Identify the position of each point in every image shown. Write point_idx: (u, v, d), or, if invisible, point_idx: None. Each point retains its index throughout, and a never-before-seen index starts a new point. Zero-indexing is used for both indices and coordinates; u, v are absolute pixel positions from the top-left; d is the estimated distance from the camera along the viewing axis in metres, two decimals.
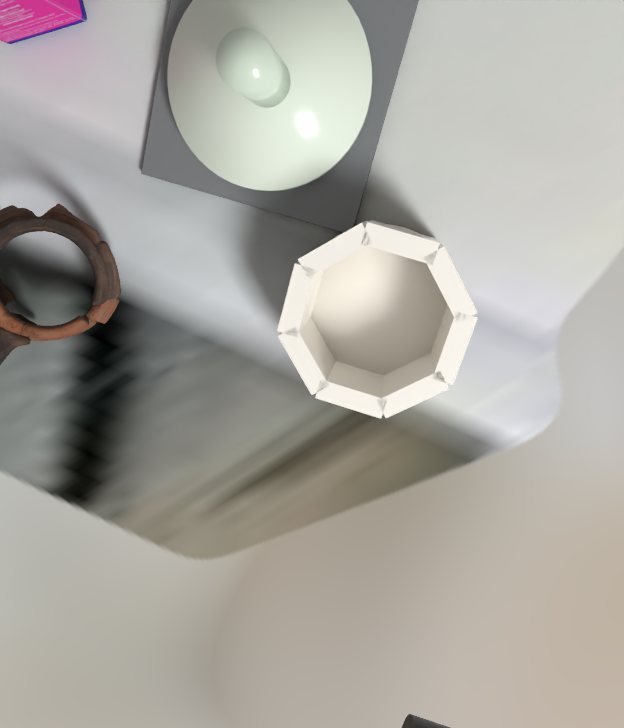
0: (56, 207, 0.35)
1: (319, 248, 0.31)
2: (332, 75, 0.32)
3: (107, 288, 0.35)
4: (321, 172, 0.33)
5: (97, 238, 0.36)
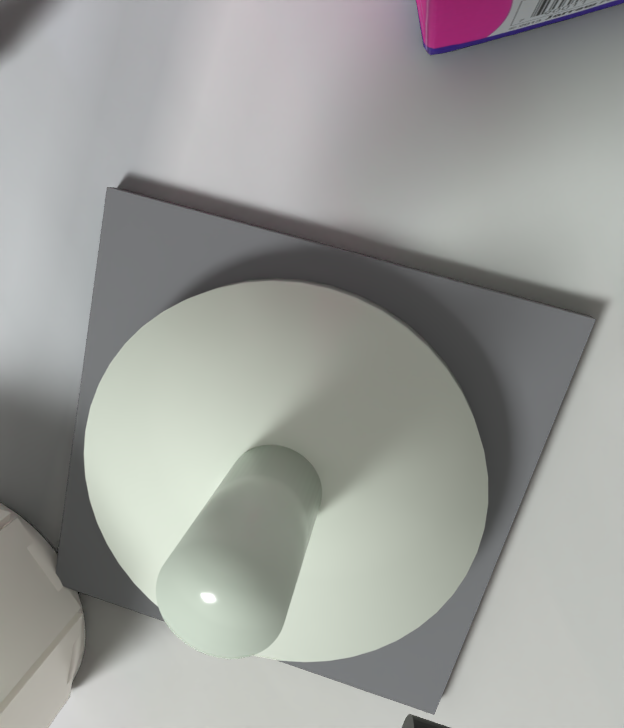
0: None
1: None
2: None
3: None
4: (127, 570, 0.18)
5: None
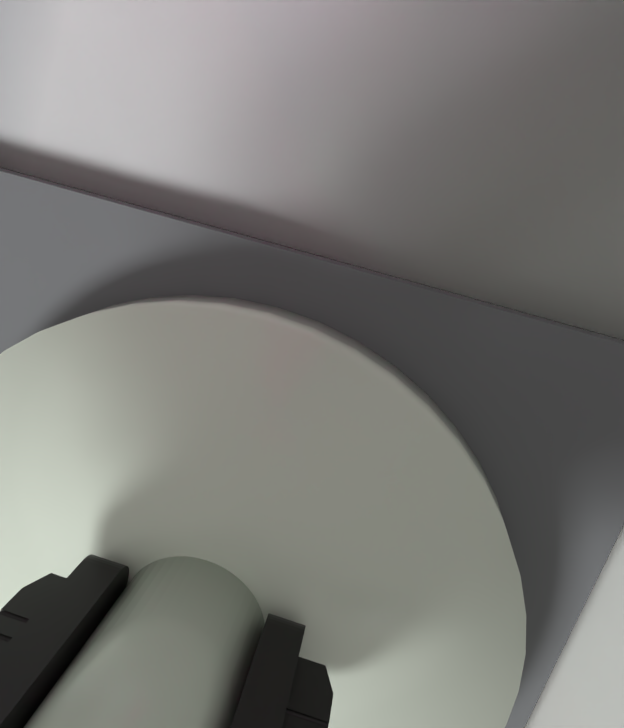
0: None
1: None
2: None
3: None
4: None
5: None
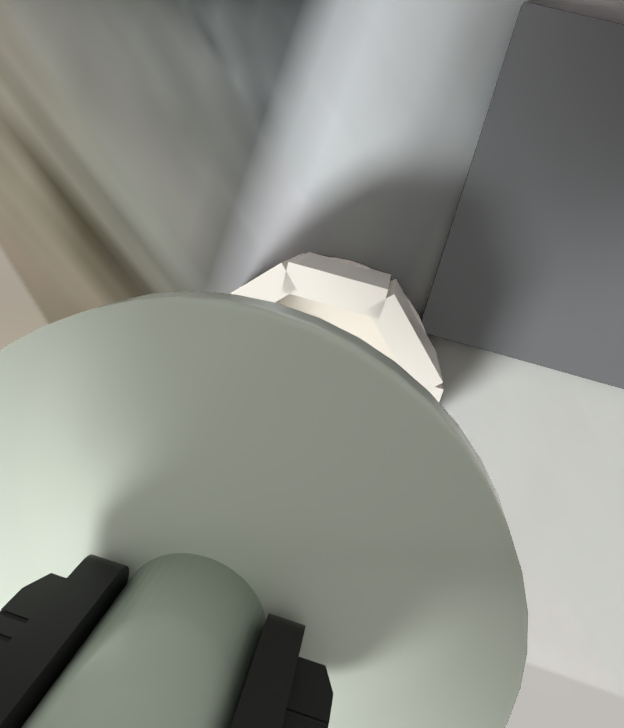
0: None
1: (409, 325, 0.22)
2: None
3: None
4: None
5: None
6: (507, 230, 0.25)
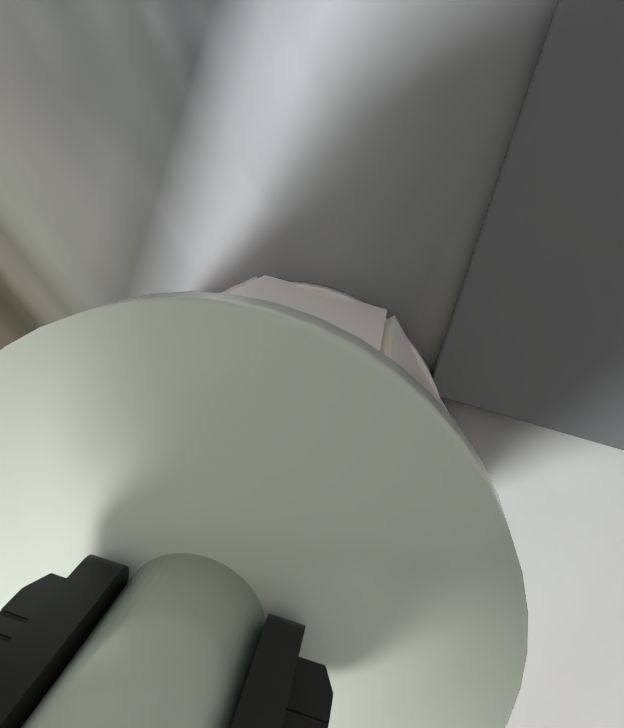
0: None
1: None
2: None
3: None
4: None
5: None
6: (567, 245, 0.16)
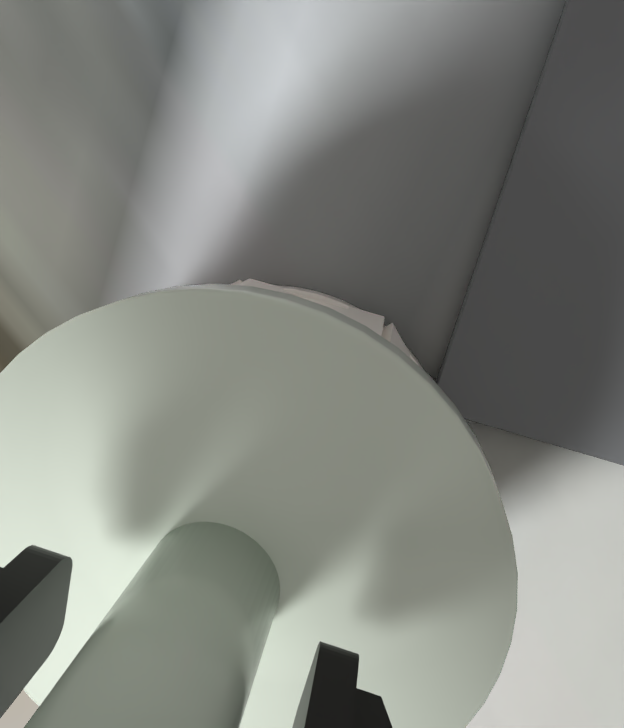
0: None
1: None
2: None
3: None
4: None
5: None
6: (584, 245, 0.14)
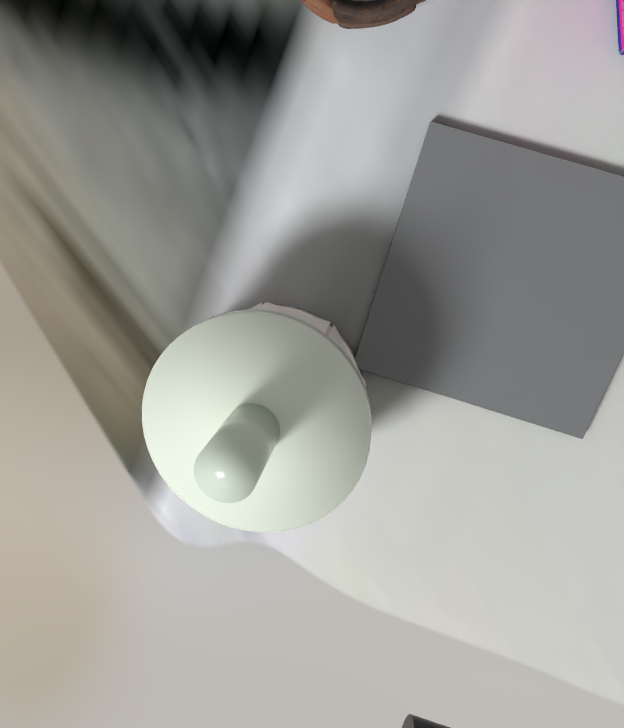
0: None
1: None
2: (258, 495, 0.30)
3: (355, 23, 0.26)
4: (165, 478, 0.30)
5: (420, 1, 0.26)
6: (420, 292, 0.32)
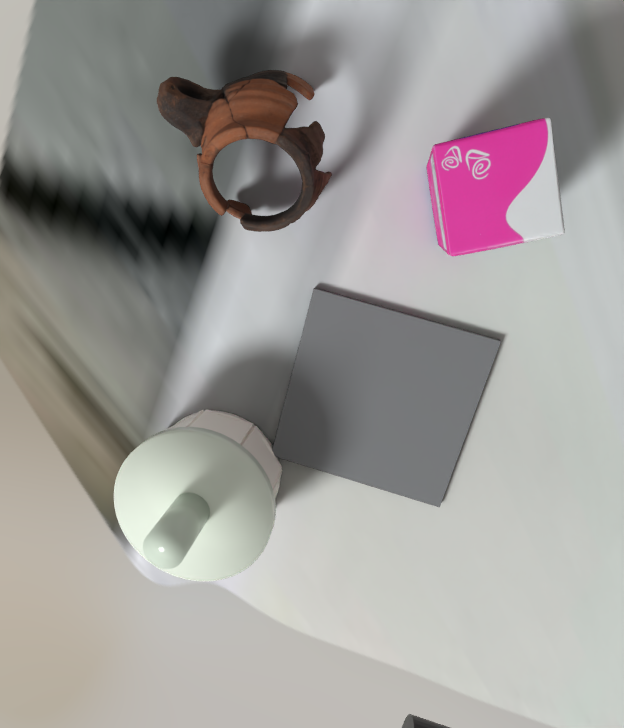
0: (327, 176, 0.37)
1: None
2: (197, 555, 0.42)
3: None
4: (131, 543, 0.43)
5: None
6: (315, 403, 0.44)
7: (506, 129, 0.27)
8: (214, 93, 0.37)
